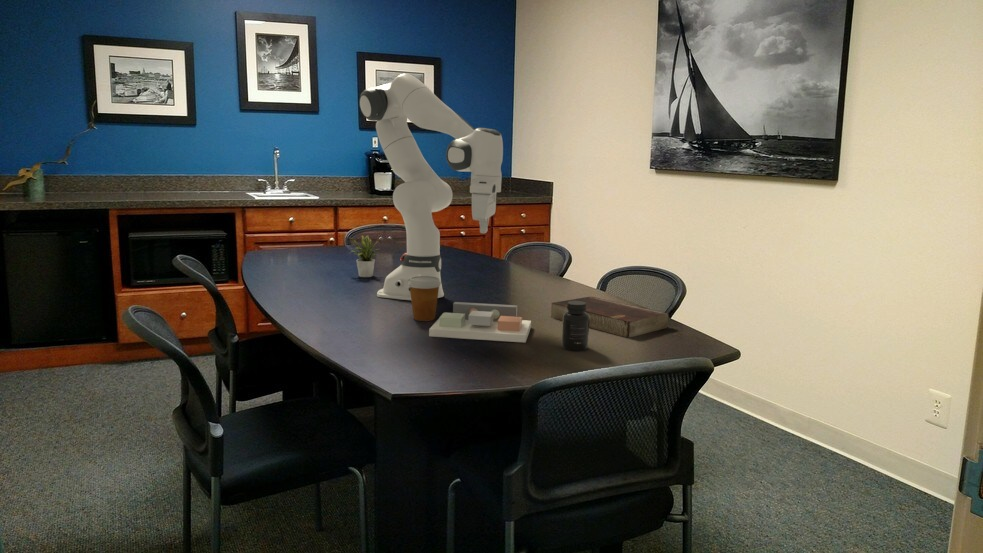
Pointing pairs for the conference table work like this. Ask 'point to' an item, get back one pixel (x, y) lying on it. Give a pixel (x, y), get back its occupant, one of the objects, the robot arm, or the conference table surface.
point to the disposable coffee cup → (424, 296)
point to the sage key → (452, 320)
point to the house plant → (365, 258)
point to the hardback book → (616, 316)
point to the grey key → (480, 318)
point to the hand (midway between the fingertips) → (483, 232)
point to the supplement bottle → (575, 327)
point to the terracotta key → (509, 323)
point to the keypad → (480, 330)
